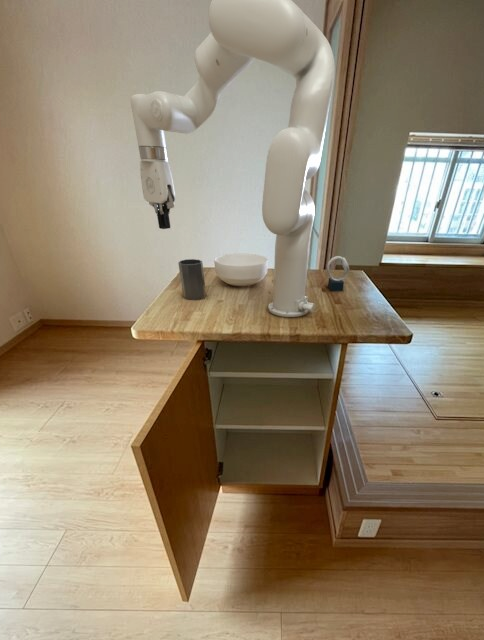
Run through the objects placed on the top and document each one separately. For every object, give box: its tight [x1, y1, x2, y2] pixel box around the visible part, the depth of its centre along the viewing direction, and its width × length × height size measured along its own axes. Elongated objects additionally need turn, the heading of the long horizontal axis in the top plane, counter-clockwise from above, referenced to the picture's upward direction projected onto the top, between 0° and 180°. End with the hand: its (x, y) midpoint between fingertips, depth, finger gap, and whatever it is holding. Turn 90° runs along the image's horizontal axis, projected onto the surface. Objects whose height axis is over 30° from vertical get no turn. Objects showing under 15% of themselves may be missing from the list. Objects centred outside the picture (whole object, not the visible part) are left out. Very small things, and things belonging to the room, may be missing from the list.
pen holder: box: [177, 258, 207, 301], centre depth 103 cm, size 7×8×11 cm
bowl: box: [213, 252, 269, 287], centre depth 117 cm, size 20×20×8 cm
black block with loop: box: [326, 255, 351, 292], centre depth 112 cm, size 6×8×11 cm
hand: (164, 228), depth 99 cm, fingers closed
